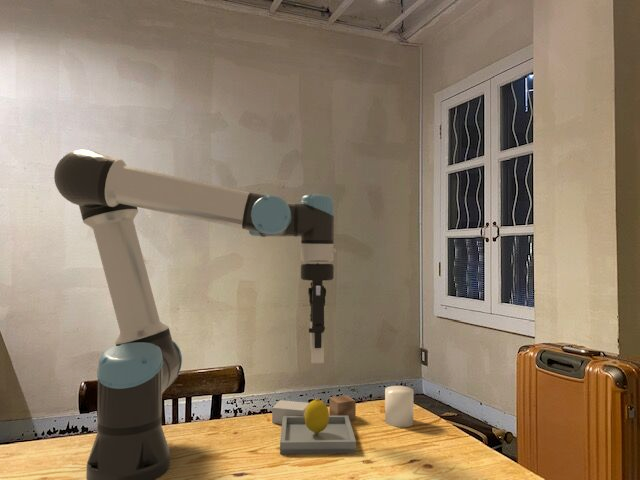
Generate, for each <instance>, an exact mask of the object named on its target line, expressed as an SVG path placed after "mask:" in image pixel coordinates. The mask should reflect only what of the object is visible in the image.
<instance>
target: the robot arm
mask: <svg viewBox="0 0 640 480" xmlns="http://www.w3.org/2000/svg"><path fill="white" fill-rule="evenodd" d="M53 177H54V178H53V179H54V184H55V187H56V189H57V191H58V193H60V195H61V196H62V197H63V198H64V199H65V200H66V201H68V202H70V203H71V204H74V205H77V206H78V208H79V211H80V214H81V219H82V222H83V224H85V225H87V227H90V228H91V229H92V231H93V233H94V234H93V235H94V239H95V242H96V245H97V249H98V254H99V256H100V257H99V258H100V260H101V264H102V268H103V272H104V276H105V280H106V282H107V283H106V284H107V287H108V291H109V295H110V298H111V302H112V303H111V304H112V306H113V310H114V314H115V317H116V320H117V325H118V329H119V335H118V337H117V338H116V341H115V346H111V347H110V348H108V349H106V350H105V351H103V352H102V353H101V355H100V357H99V359H98V366H97V372H96V376H97V377H96V378H97V414H96V415H97V416H96V417H97V422H96V423H97V425H96V426H97V427H96V428H97V429H96V431H97V432H96V436H95V439H94V442H93V444H92V448H91V451H90V454H89V456H88V459H87V462H86V471H85V472H86V473H85V475H86V476H85V477H86V479H87V480H154V479H156V478H158V477H161V476H162V475H163V474H164V473H166V472H167V470H168V469H169V468H170V466H171V451H170V448H169V444H168V441H167V438H166V436H165V435H166V434H165V432H164V430H163V426H162V413H163V411H162V410H163V409H162V407H163V405H162V401H163V400H162V399H163V397H162V396H163V393H164V392H166V390H167V389H168V388H169V387H170V386H171V385H172V384H173V383H174V382H175V381H176V380H177V378H178V377H179V374H180V372H181V368H182V365H183V355H182V351H181V350H180V347H179V346H178V344H177V343H176V342H175V341H174V340H173V338H172V335H171V331H170V327H169V325H166V324H164V323H163V322H161V320H160V316H159V313H158V308H157V305H156V301H155V298H154V294H153V290H152V286H151V282H150V279H149V274H148V272H147V267H146V263H145V260H144V256H143V253H142V249H141V245H140V242H139V241H140V240H139V237H138V233H137V230H136V225H135V222H134V219H135V218H136V216H137V215H138V213H139V209H138V208H141V209H145V210H150V211H155V212H160V213H163V214H164V213H165V214H169V215H174V216H179V217H184V218H190V219H193V220H199V221H203V222H208V223H213V224H217V225H223V226H229V227H233V228H238V229H242V230H246V231H248V233H249V234H250V235H251V236H254V237H261V238H266V237H276V238H277V237H278V238H279V237H296V238H298V237H300V238H301V241H300V261H301V262H302V264H301V265H300V279H301V280H303V281H310V282H311V283H310V287H308V293H307V295H308V297H309V298H308V299H309V300H308V301H309V306H310V314H309V317H310V320H309V321H310V324H309V325H310V327H309V328H308V333H309V335H310V336H309V350H310V351H311V353H310V355H311V357H310V358H311V360H310V361H311V362H310V363H311V364H324V363H325V330H326V327H325V306H326V297H327V288H326V287H325V286H324V285H323V281H327V282H328V281H333V280H334V277H335V276H334V268H335V266H334V265H333V264H332V263H331V262H333V261H334V253H337V249H336V248H335V247H334V244H335V243H334V242H335V240H334V239H335V238H334V237H335V210H334V199H333V198H332V196H331V195H328V194H305V195H303V196H302V197H301V200H300V203H292V204H291V203H287V201H286V200H285V199H283V198H282V197H280V196H277V195H274V194H273V195H272V194H268V195H264V194H259V193H253V192H249V191H245V190H240V189H236V188H230V187H226V186H222V185H217V184H214V183H213V184H212V183H208V182H203V181H200V180H199V181H198V180H194V179H190V178H189V179H188V178H184V177H179V176H175V175H170V174H165V173H161V172H157V171H156V172H155V171H152V170H146V169H142V168H137V167H133V166H128V165H127V164H126V163H125V161H124V159H119V158H115V157H111V156H107V155H104V154H101V153H99V152H96V151H93V150H90V149H78V150H73V151H71V152H69V153H66V154H65V155H63V157H62V158H61V159H60V160H59V161H58V163H57V164H56V166H55V169H54V176H53Z"/></svg>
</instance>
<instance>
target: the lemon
mask: <svg viewBox="0 0 640 480" xmlns="http://www.w3.org/2000/svg"><path fill="white" fill-rule="evenodd" d="M308 403H309V404H308V405H307V407H306V410H305V423H306V426H307V427H308V429H309V430H311V431H313V432H314V433H315V434H318V433H319V432H321V431H323V430H324V429H325V428H326V427H327V425H328V421H329V409H328V406H327V404H326V402H324V401H322V400H320V399H319V398H315V399H313V400H311V401H309V402H308Z"/></svg>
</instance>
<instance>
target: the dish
mask: <svg viewBox="0 0 640 480" xmlns="http://www.w3.org/2000/svg"><path fill="white" fill-rule="evenodd" d="M279 439H280V440H279V455H304V454H305V455H307V454H308V455H311V454H314V455H315V454H324V455H325V454H356V453H357V441H356V440H357V439H356V437H355V433H354V430H353V427H352V424H351V421H350V420H349V416H348V415H343V416H329V421H328V425H327V427H326V428H325V429H324V430H323V431H321V432H319V433H318V434H315V433H314V432H313V431H311V430H309V429H308V427H307V426H306V423H305V416H283V419H282V424H281V431H280V438H279Z"/></svg>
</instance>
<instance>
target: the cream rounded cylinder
mask: <svg viewBox="0 0 640 480" xmlns="http://www.w3.org/2000/svg"><path fill="white" fill-rule="evenodd" d="M384 390H385V391H384V407H385V408H384V423H385V424H386V425H389V426H392V427H393V428H394V427H395V428H408V427H411V426H412V425H414V394H415V393H414V389H413V388H411V387H409V386H404V385H390V386H387V387H385V389H384Z"/></svg>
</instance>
